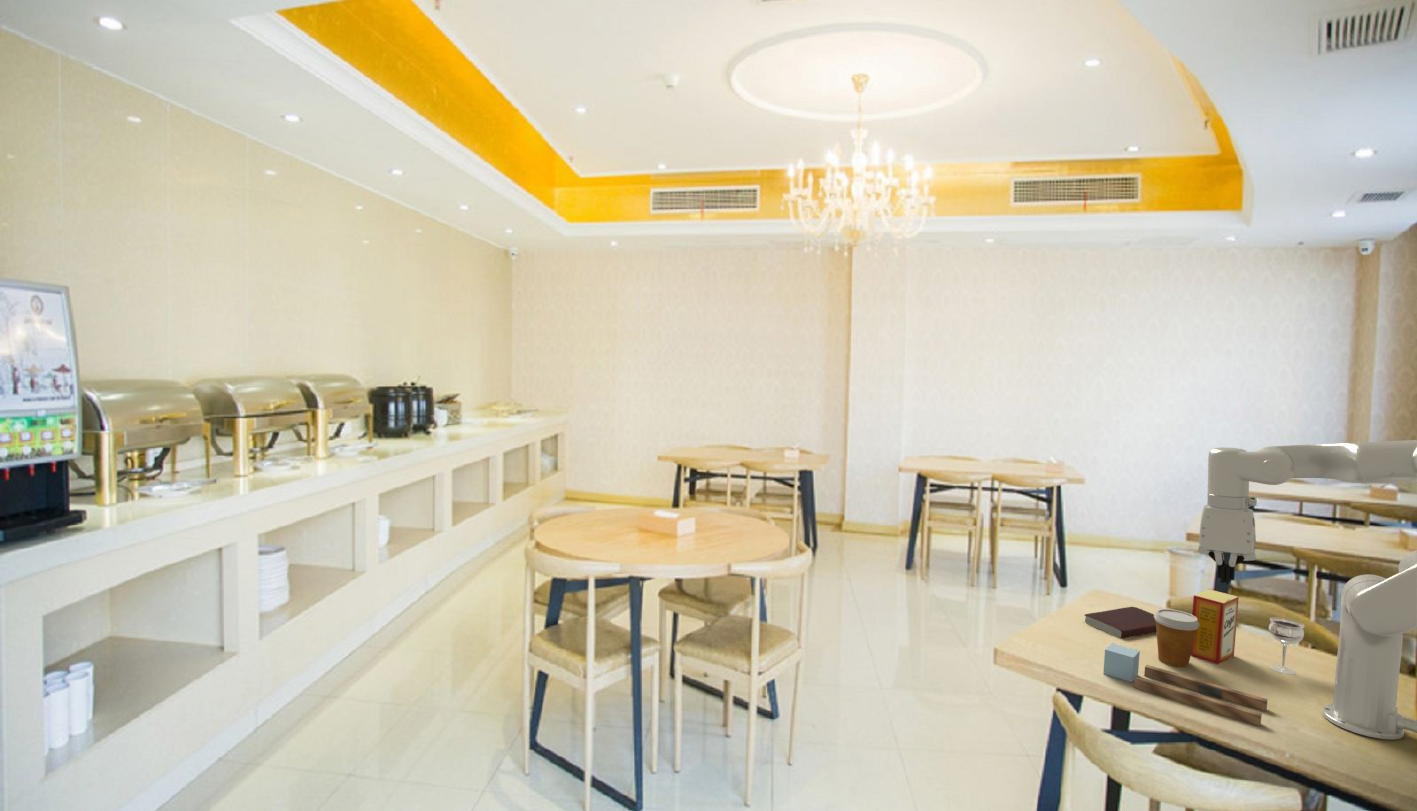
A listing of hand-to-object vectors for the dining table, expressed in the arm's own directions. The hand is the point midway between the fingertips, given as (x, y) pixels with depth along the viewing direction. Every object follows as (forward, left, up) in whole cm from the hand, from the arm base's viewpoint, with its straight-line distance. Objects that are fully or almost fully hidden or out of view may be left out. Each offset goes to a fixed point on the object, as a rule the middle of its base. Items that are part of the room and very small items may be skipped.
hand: (1225, 581), depth 161 cm
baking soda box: (+5, -21, -25) cm, 33 cm away
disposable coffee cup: (+11, -9, -25) cm, 29 cm away
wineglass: (-9, -24, -25) cm, 36 cm away
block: (+18, +9, -25) cm, 32 cm away
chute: (+2, +9, -25) cm, 27 cm away
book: (+25, -27, -26) cm, 45 cm away
